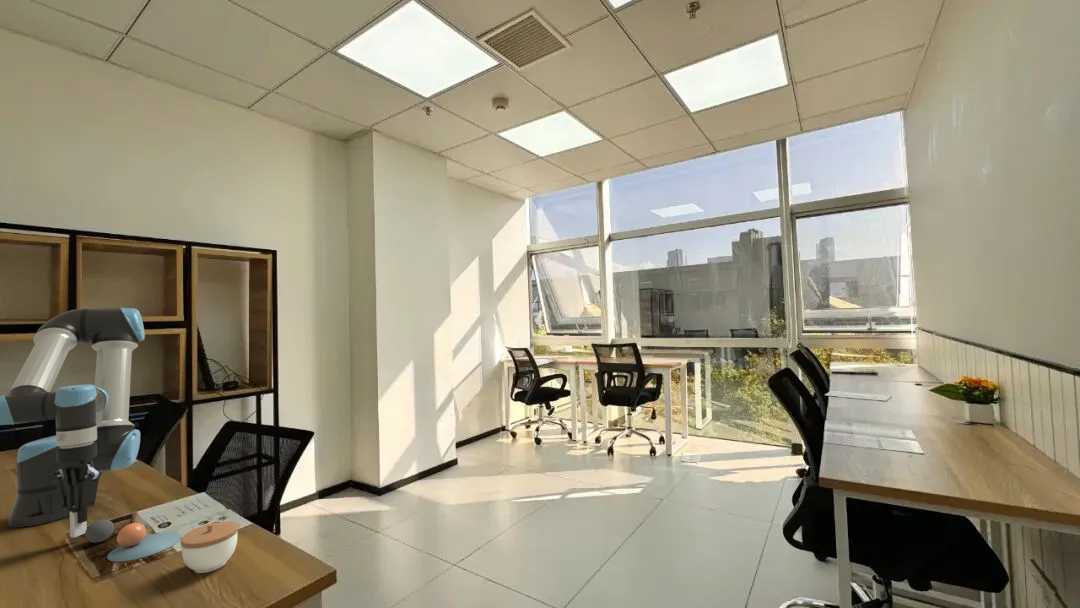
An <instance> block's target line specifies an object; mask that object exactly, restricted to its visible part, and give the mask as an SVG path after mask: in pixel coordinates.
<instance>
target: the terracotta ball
mask: <svg viewBox="0 0 1080 608" xmlns="http://www.w3.org/2000/svg"><path fill="white" fill-rule="evenodd" d="M146 534H147V529H146V527H145V525H144V524H142V523H140V522H132V523H129V524H126V525H125V526H123V527H122V528H121V529H120V530H119V532H118V534H117V536H116V541H117V542H116V543H118V546H120V545H121V546H123V547H132V546H135V545H137V544H138V543H140V542H141V541H142V540H143V538H144V537H145V536H146Z"/></svg>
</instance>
